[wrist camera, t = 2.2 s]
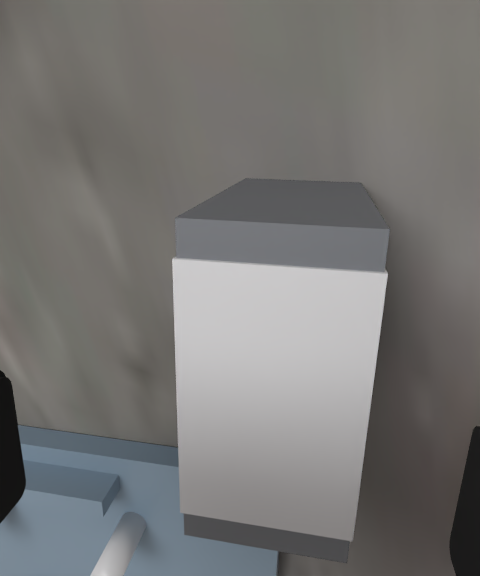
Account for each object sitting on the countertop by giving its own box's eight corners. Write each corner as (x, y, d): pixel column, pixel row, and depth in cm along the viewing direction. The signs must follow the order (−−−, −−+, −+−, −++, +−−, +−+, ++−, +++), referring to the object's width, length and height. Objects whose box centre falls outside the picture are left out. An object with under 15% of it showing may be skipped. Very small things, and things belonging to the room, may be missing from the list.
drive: (362, 182, 16) (393, 230, 8) (340, 387, 18) (349, 567, 11) (244, 178, 16) (171, 218, 9) (240, 375, 19) (181, 537, 11)
